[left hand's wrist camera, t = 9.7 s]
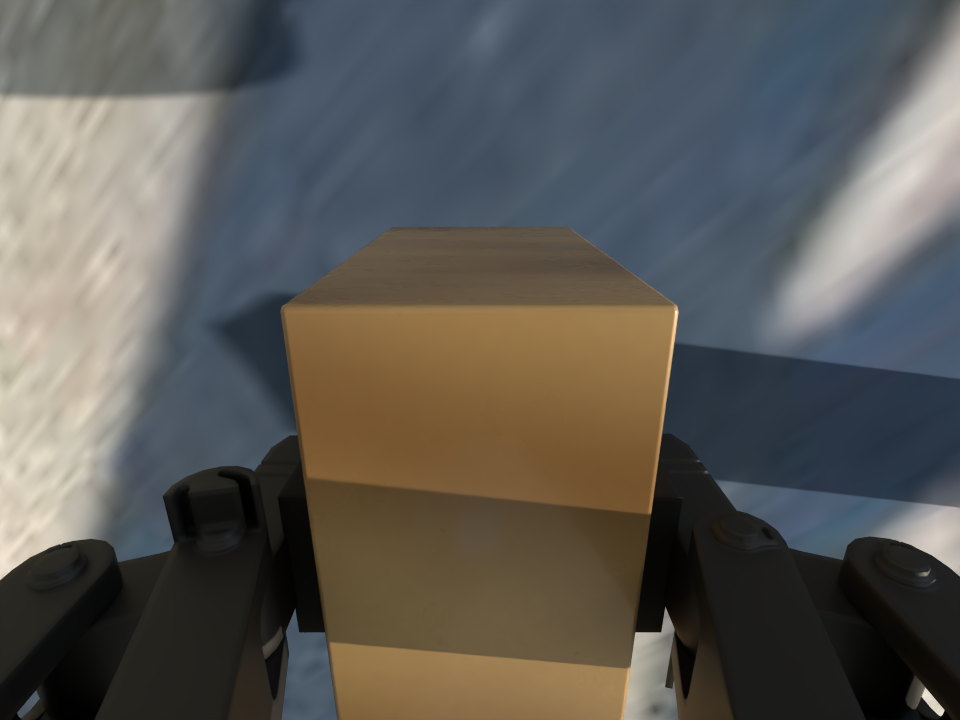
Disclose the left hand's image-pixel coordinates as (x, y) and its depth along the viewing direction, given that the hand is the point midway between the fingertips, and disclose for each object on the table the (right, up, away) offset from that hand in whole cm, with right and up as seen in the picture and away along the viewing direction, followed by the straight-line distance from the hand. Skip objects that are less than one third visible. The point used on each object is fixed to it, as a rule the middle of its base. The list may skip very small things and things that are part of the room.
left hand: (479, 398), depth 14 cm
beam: (0, -34, +13) cm, 37 cm away
